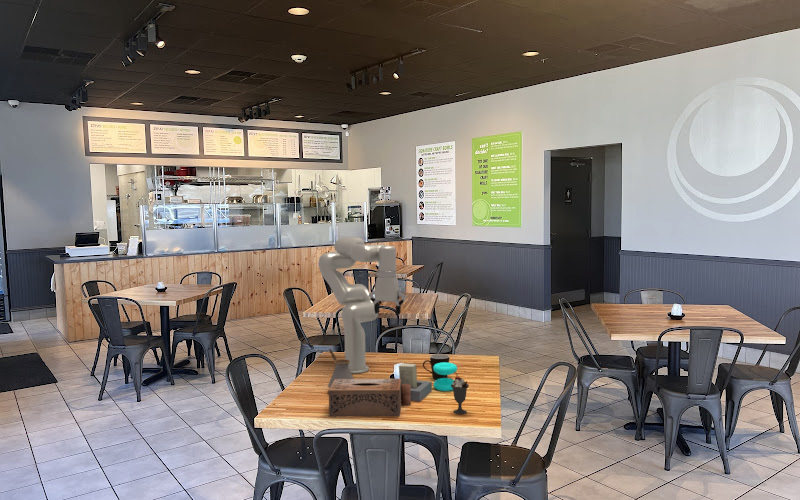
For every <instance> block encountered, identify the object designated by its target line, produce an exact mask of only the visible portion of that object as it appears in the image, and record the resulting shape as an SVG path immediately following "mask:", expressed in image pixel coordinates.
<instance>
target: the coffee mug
mask: <svg viewBox="0 0 800 500" xmlns="http://www.w3.org/2000/svg"><path fill="white" fill-rule="evenodd" d="M450 357H451V356H450V355H448V354H443V353H434V354H430V355H429V358H430V359H429V360H424V361H423V363H422V367H423V369H424V370H425V371H426V372H429V373H431V376H432V380H433V381H436V380H437V379H440V378H448V375H441V374H437V373H436V372H435V371H434V370H433V367H434V365H435V364H437V363H443V362H447V363H450ZM427 362H428V363H429V364H430V366H431V368H430V369H431V370H430V369H428V368H426V367H425V364H426V363H427Z"/></svg>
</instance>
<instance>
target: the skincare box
mask: <svg viewBox="0 0 800 500" xmlns="http://www.w3.org/2000/svg"><path fill="white" fill-rule="evenodd" d="M398 372H399V373H398V374H399V375H398V376H399V378H398V379H401V385H402V384H410V385H411V388H412V389H416V388H417V380H418V375H417V373H418V371H417V364H415V363H404V362H403V363H401V364H400V365H399V366H398Z"/></svg>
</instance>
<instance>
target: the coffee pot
mask: <svg viewBox="0 0 800 500" xmlns="http://www.w3.org/2000/svg"><path fill="white" fill-rule="evenodd" d="M326 352H327V353H328V354H331V358H332V359H333V360H334V361H333V363H334V366H335V368H334V370H333V373H332V375H331V377H330V379H329V382H328V386H327V387H328V388H329V389H330V387H331V385H332V383H333V381H334V379H355V378H354V376H353V373H351V372H350V369H349V367H348V364H349V362H350V360H345V359H337V358H336V355H335V354H334V353H333V349H332V348H329V349H328V350H327V351H326ZM329 389H328V390H329Z"/></svg>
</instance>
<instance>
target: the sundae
mask: <svg viewBox="0 0 800 500" xmlns="http://www.w3.org/2000/svg"><path fill="white" fill-rule="evenodd" d="M453 374H455V377H454V379H453V380H454V381H453V384H452V385H451V387H452V388H453V390H452V392H453V397H454V401H455V402H456V403H457V404H458V406H457V409H454V410H453V414H455V415H465V414H467V410H465V409H463V406H462V404H463V403H464V402H465V400H466V398H467V390H468V388H469V386H470V385H469V384H468V381H465V380H464V379H463V378H462V377H460V376H459V375H458V373H457V371H456V372H454V373H453Z"/></svg>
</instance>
